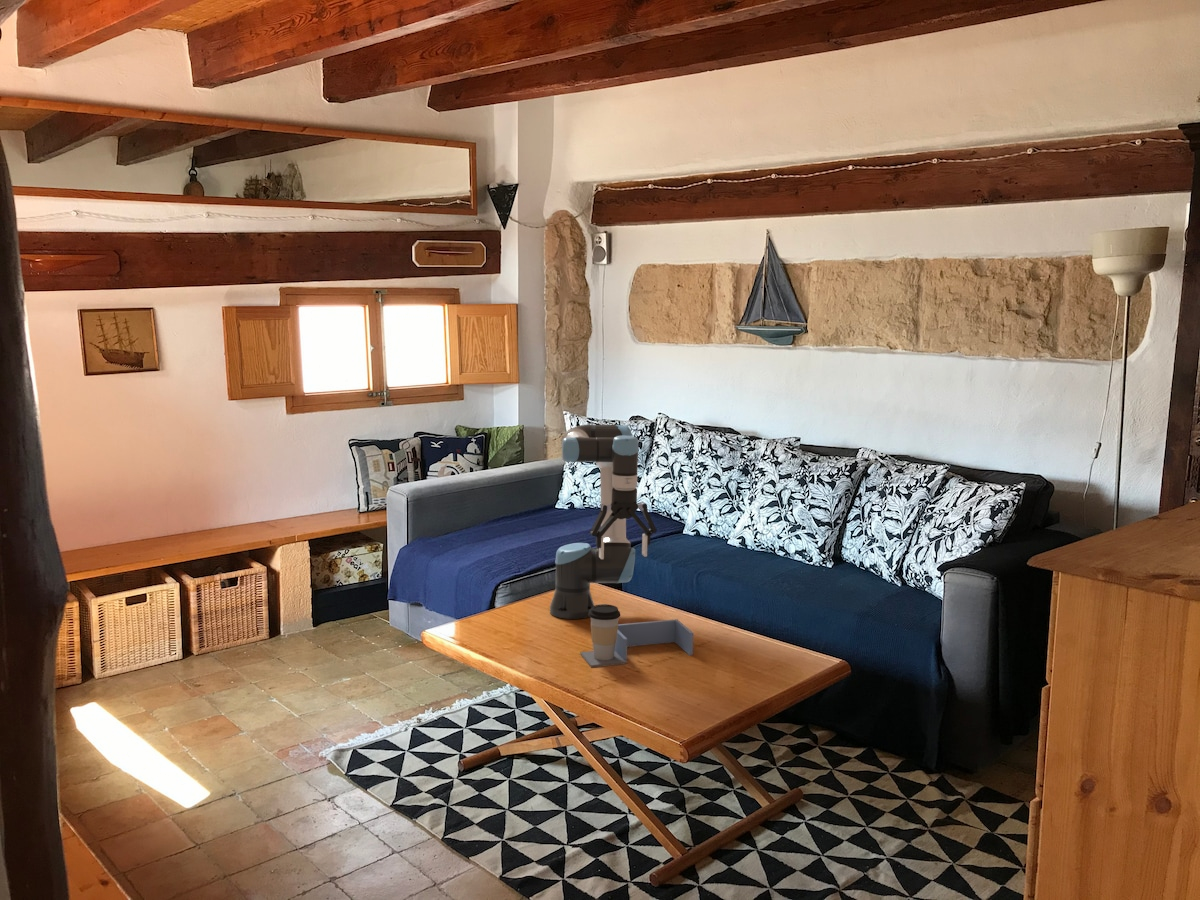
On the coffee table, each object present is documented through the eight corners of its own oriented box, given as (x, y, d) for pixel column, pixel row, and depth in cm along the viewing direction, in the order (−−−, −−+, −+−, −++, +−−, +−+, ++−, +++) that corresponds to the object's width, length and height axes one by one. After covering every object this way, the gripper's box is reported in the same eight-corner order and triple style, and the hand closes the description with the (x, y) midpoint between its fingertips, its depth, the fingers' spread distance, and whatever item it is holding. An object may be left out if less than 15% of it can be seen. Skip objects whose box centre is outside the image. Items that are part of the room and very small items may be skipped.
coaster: (580, 654, 298) (580, 652, 298) (615, 650, 301) (615, 648, 301) (591, 667, 288) (591, 665, 288) (626, 663, 291) (626, 661, 291)
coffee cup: (620, 652, 299) (621, 604, 296) (618, 663, 289) (619, 614, 287) (589, 650, 300) (590, 602, 297) (586, 662, 290) (587, 612, 288)
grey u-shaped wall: (609, 647, 305) (610, 625, 304) (676, 640, 311) (677, 619, 310) (623, 662, 292) (624, 639, 291) (692, 655, 299) (693, 632, 298)
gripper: (587, 492, 289) (586, 562, 292) (668, 488, 295) (666, 557, 299) (580, 486, 296) (579, 555, 299) (660, 483, 302) (658, 550, 306)
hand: (622, 556), depth 299 cm, fingers open, 13 cm apart
